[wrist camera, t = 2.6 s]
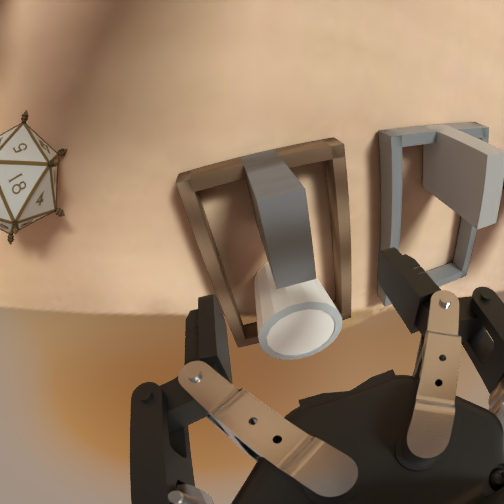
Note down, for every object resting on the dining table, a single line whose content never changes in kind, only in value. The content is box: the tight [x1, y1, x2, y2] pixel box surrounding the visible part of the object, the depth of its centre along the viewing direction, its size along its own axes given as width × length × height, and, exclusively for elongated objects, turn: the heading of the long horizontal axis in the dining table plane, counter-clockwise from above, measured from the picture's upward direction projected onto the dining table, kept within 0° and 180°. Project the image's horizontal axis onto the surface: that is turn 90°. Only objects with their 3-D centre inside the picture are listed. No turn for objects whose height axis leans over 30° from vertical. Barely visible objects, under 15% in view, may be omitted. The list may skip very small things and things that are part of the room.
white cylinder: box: [254, 262, 342, 360], centre depth 26 cm, size 7×7×7 cm
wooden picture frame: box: [176, 138, 351, 347], centre depth 23 cm, size 18×12×8 cm, turn 12°
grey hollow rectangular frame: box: [377, 122, 504, 306], centre depth 23 cm, size 18×12×8 cm, turn 12°
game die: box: [0, 110, 66, 245], centre depth 16 cm, size 9×8×10 cm
